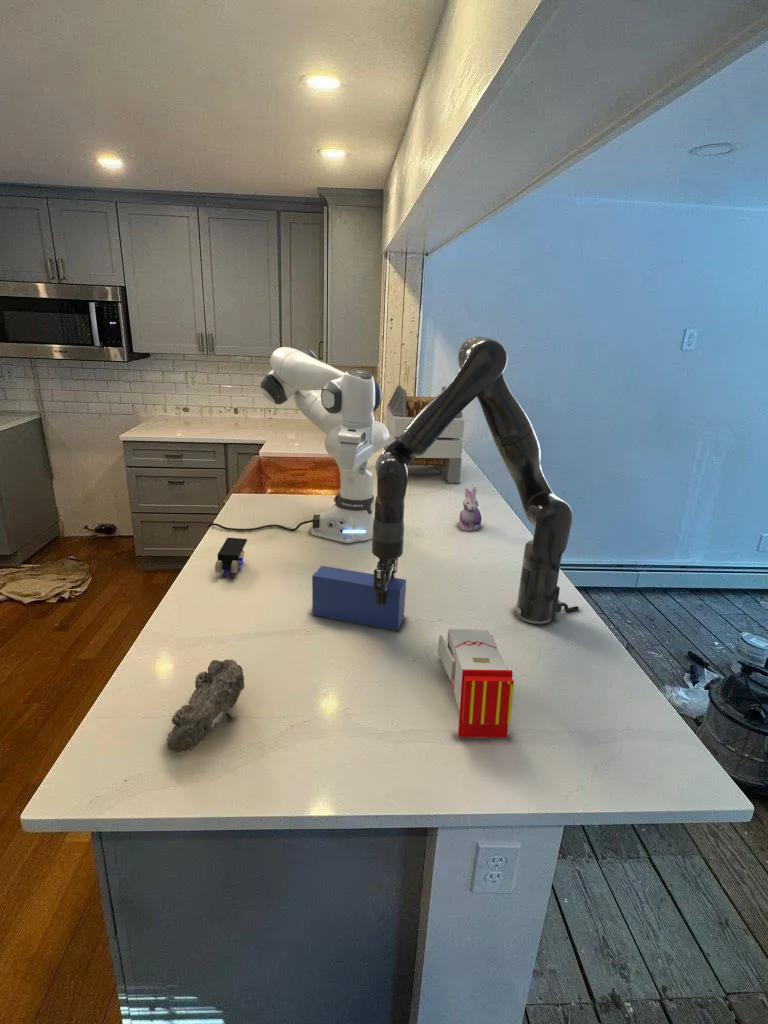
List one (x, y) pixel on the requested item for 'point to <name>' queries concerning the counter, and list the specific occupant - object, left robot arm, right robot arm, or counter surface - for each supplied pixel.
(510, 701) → the toy
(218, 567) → the figurine character
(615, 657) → the counter surface
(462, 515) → the figurine
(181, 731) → the fossil
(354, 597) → the box
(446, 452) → the grey slatted crate
